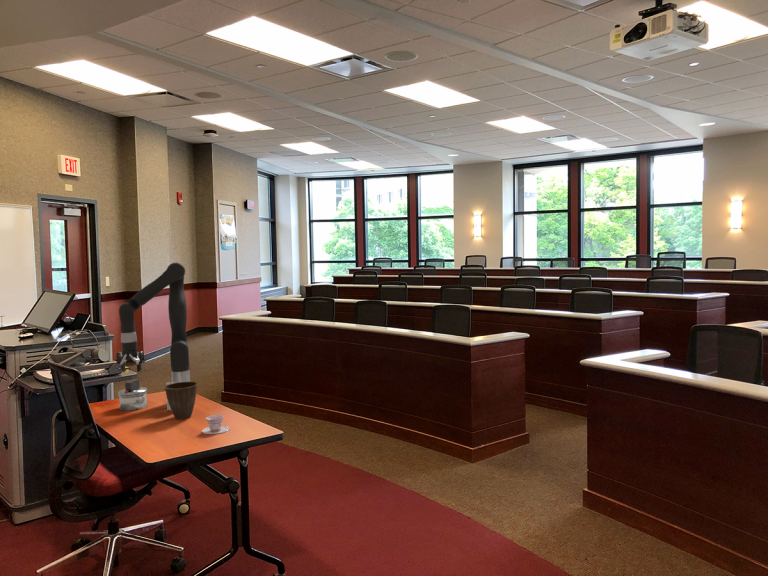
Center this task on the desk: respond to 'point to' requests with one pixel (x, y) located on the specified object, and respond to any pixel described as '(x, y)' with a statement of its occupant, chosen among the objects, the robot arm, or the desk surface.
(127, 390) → the cooker lid
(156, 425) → the desk surface
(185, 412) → the plant pot
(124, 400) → the cooker pot
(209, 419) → the teacup
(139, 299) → the robot arm
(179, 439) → the desk surface
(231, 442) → the desk surface
